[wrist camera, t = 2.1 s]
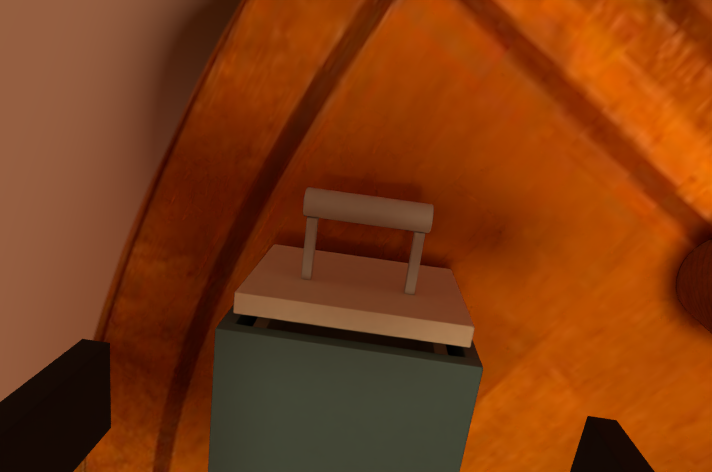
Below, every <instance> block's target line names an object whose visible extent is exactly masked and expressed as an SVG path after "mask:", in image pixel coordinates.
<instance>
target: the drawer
mask: <svg viewBox="0 0 712 472" xmlns="http://www.w3.org/2000/svg"><path fill="white" fill-rule="evenodd" d="M303 214H304V216H308V217H307V223H306V232H305V242H304V248H298V247H291V246H284V245H277V244H274V245H273V246H272V247H271V249H270V250H269V251H268V252H267V254H266V255H265V256H264V257H263V258H262V260H261V261H260V262H259V263H258V265H257V266H256V267H255V268H254V269H253V271H252V272H251V273H250V274H249V276H248V277H247V278H246V279H245V280H244V282H243V283H242V284H241V285H240V287H239V288H238V289H237V290H236V291H235V294H234V310H233V312H234V313H237V314H244V315H251V316H257V317H258V318H257V320H256V321H255V323H254V325H253V327H260V328H267V329H273V330H280V331H287V332H294V333H301V334H307V335H314V336H321V337H328V338H335V339H341V340H348V341H355V342H362V343H369V344H376V345H382V346H389V347H396V348H403V349H410V350H416V351H423V352H430V353H437V354H444V355H448V352H447V348H446V344H449V345H456V346H462V347H470V346H471V342H472V337H473V333H474V328H475V327H474V325H473V322H472V320H471V317H470V315H469V312H468V310H467V307H466V305H465V302H464V300H463V298H462V295H461V293H460V290H459V288H458V285H457V283H456V280H455V278H454V275H453V273H452V270H451V269H445V268H438V267H431V266H424V265H420V261H421V255H422V250H423V244H424V238H425V233H429V232H430V230H431V226H432V222H433V214H434V206H433V204H426V203H419V202H412V201H405V200H397V199H390V198H383V197H376V196H369V195H361V194H354V193H347V192H340V191H333V190H325V189H318V188H311V187H307V189H306V192H305V196H304V203H303ZM319 218H324V219H331V220H338V221H345V222H352V223H360V224H367V225H374V226H381V227H388V228H395V229H402V230H409V231H414V233H413V239H412V245H411V251H410V257H409V263H403V262H396V261H389V260H382V259H375V258H368V257H361V256H354V255H347V254H340V253H333V252H326V251H319V250H315V247H316V238H317V229H318V220H319Z"/></svg>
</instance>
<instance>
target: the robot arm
mask: <svg viewBox="0 0 712 472" xmlns="http://www.w3.org/2000/svg"><path fill="white" fill-rule="evenodd" d="M110 428H111V398H110V343H106V342H99V341H93V340H86V339H82V340H81V341H79V342H78V343H77V344H75V345H74V346H73V347H71V348H70V349H69V350H68V351H66V352H65V353H64V354H62V355H61V356H60V357H59V358H57V359H56V360H54V361H53V362H52V363H51V364H49V365H48V366H47V367H45V368H44V369H43V370H42V371H40V372H39V373H38V374H36V375H35V376H34V377H32V378H31V379H30V380H28V381H27V382H26V383H24V384H23V385H22V386H21V387H20V388H18V389H17V390H15V391H14V392H13V393H11V394H10V395H9V396H8V397H6V398H5V399H4V400H2V401H1V402H0V472H73V471H74V470H75V469H76V468H77V467H78V465H79V464H80V463H81V462H82V461H83V460H84V458H85V457H86V456H87V455H88V454H89V453H90V451H91V450H92V449H93V448H94V447H95V446H96V444H97V443H98V442H99V441H100V440H101V439H102V437H103V436H104V435H105V434H106V433H107V431H108V430H109V429H110ZM570 472H654V470H653V469H652V468H651V466H650V465H649V464H648V462H647V461H646V460H645V458H644V457H643V456H642V454H641V453H640V452H639V450H638V449H637V447H636V446H635V445H634V443H633V442H632V441H631V439H630V438H629V437H628V435H627V434H626V433H625V431H624V430H623V429H622V427H621V426H620V425H619V423H618V422H617V420H611V419H605V418H598V417H591V416H588V417H587V420H586V423H585V426H584V430H583V433H582V436H581V439H580V442H579V445H578V448H577V452H576V455H575V458H574V461H573V464H572V467H571V471H570Z"/></svg>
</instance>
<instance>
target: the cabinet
mask: <svg viewBox="0 0 712 472" xmlns="http://www.w3.org/2000/svg"><path fill="white" fill-rule="evenodd" d="M233 310H234V305H233V306H232V308H231V309H230V310H229V312H228V313H227V314H226V315H225V317H224V318H223V319H222V321H221V322H220V323H219V325H218V326H217V327H216V329H215V346H214V366H213V385H212V405H211V425H210V444H209V464H208V472H459V471H460V467H461V462H462V458H463V454H464V449H465V445H466V441H467V436H468V432H469V428H470V423H471V419H472V415H473V410H474V406H475V402H476V397H477V393H478V389H479V384H480V380H481V376H482V371H483V366H482V363H481V361H480V359H479V356H478V354H477V351H476V348H475V345H474V343H473V340H472V342H471V346H470V347H462V346H456V345H449V344H446V348H447V352H448V355H444V354H437V353H430V352H423V351H416V350H410V349H403V348H396V347H389V346H382V345H376V344H369V343H362V342H355V341H348V340H341V339H335V338H328V337H321V336H314V335H307V334H301V333H294V332H287V331H280V330H273V329H267V328H260V327H253V325H254V323H255V321H256V320H257V318H258V317H257V316H251V315H244V314H237V313H234V312H233Z"/></svg>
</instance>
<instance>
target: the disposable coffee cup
mask: <svg viewBox="0 0 712 472" xmlns="http://www.w3.org/2000/svg"><path fill="white" fill-rule="evenodd" d="M676 290H677V295H678V298H679V300H680V302H681V304H682V305H683V307H684V308H685V309H686V310H687V311H688V312H689V313H691V314H692V315H693V316H694V317H695V318H696V319H697V320H698V321H699V322H700V323H701V324H702V325H703V326H704V327H705V328H706V329H708V330H709V331H710V332H711V333H712V239H711V240H708V241H706V242H705V243H703V244H701V245H699V246H698V247H697V248H696V249H694V250H693V251H692V252H691V253H690V254H689V256H688V257H687V258H686V259H685V260H684V262H683V264H682V265H681V267H680V270H679V273H678V276H677V282H676Z"/></svg>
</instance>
